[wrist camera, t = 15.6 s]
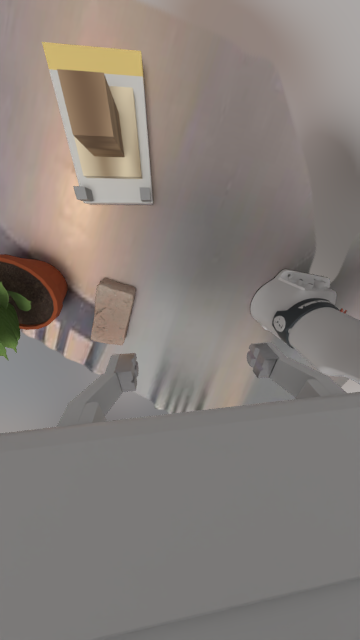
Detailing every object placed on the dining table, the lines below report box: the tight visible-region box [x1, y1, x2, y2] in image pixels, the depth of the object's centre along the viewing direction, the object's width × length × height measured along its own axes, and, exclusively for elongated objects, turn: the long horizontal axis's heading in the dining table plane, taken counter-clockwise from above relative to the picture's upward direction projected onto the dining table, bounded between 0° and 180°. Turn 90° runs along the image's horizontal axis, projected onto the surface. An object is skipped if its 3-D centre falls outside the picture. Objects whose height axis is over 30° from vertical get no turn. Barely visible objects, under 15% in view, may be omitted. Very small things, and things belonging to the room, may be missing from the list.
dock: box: [42, 42, 153, 205], centre depth 24 cm, size 12×16×6 cm
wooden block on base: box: [57, 69, 142, 179], centre depth 21 cm, size 9×9×8 cm
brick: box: [91, 278, 136, 345], centre depth 41 cm, size 16×8×5 cm, turn 160°
